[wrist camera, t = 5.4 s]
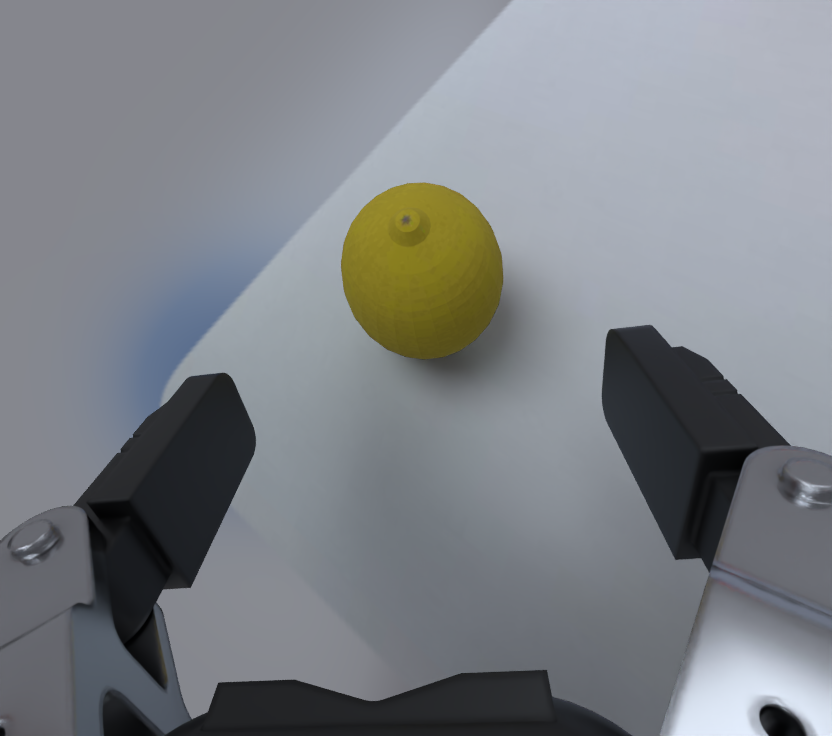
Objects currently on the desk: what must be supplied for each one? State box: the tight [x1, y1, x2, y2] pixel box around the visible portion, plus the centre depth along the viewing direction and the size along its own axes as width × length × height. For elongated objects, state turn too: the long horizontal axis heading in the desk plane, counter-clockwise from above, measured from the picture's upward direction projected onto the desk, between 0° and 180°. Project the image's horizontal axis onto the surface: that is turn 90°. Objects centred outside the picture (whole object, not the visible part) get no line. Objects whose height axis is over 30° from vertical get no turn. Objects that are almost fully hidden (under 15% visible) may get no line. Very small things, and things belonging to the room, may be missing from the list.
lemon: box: [341, 183, 503, 359], centre depth 16 cm, size 6×6×8 cm
